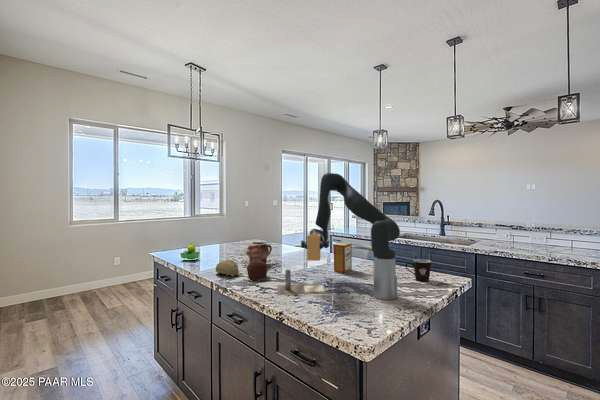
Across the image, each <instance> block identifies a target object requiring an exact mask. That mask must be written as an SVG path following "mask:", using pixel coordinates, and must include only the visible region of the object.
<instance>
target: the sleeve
mask: <svg viewBox="0 0 600 400" xmlns="http://www.w3.org/2000/svg"><path fill="white" fill-rule="evenodd" d="M306 242H307V249H306V260H307V261H320V260H321V249H320V234H310V233H307V235H306Z"/></svg>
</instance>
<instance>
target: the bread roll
mask: <svg viewBox="0 0 600 400" xmlns="http://www.w3.org/2000/svg"><path fill="white" fill-rule="evenodd" d="M215 272H216V273H217V274H220V273H221V275H224V274H226V275H225V276H228V275H236V276H238V274H239V267H238V264H237V263H236V261H234V260H230V259H225V260H222V261H220V262H219V263H218V264H216V267H215Z"/></svg>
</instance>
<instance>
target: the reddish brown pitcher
mask: <svg viewBox="0 0 600 400" xmlns="http://www.w3.org/2000/svg"><path fill="white" fill-rule="evenodd" d="M272 250H273V248H272V245H271V244H268V243H267V242H264V241H263V242H262V241H261V242H260V241H256V242H255V241H253V242H251V243H249V245H248V246H247V248H246V251H245V254H246V255H247V257H248V258H249V263H250V262H252V261H255V260H260V261H263V262H265V263H266V264H267V261H268V258H269V256H270V254H271V252H272Z"/></svg>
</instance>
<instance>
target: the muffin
mask: <svg viewBox="0 0 600 400" xmlns="http://www.w3.org/2000/svg"><path fill="white" fill-rule="evenodd" d="M268 269H269V266H268V264H267V262H266V263H265V262H263V261H260V260H255V261H252V262H250V261H249V263H248V265H246V271H247V277H248V280H249V279H250V280H253V281H255V280H262V279H266V278H267V275H268Z"/></svg>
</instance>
